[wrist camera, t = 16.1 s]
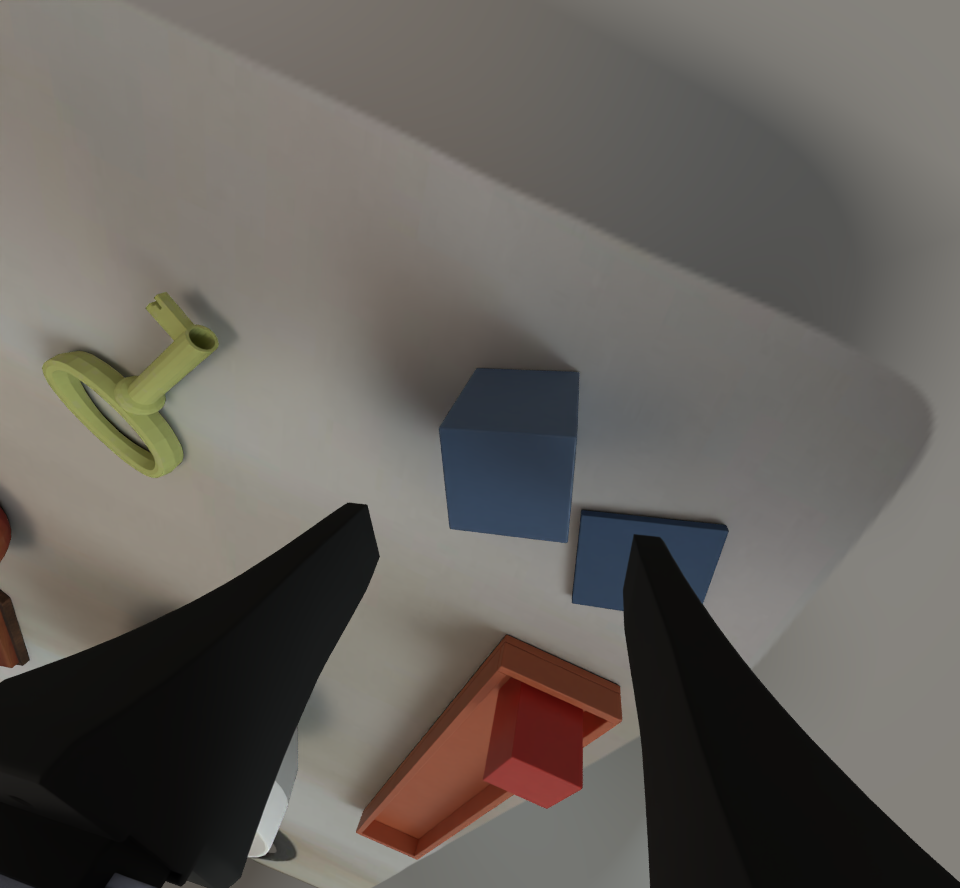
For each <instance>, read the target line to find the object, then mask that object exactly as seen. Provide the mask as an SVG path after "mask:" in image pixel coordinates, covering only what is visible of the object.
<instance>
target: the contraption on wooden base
mask: <svg viewBox="0 0 960 888" xmlns="http://www.w3.org/2000/svg"><path fill="white" fill-rule="evenodd" d="M28 661H29V657H28V653H27V650H26V647H25V644H24V641H23V638H22V634H21V631H20V628H19V625H18V622H17V619H16V616H15V612H14V609H13V606H12V603H11V600H10V598H9V597H8V596H7V595H6V594H4V593H3V592H2V591H0V666H4V667H9V668H13V667H14V666H15V665H22V666H23V665H24V664H26V663H27V662H28Z"/></svg>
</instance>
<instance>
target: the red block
mask: <svg viewBox="0 0 960 888" xmlns="http://www.w3.org/2000/svg"><path fill="white" fill-rule="evenodd" d="M582 773H583V709H581V708H579V707H577V706H574V705H572V704H570V703H568V702H565V701H563V700H561V699H559V698H557V697H554V696H552V695H550V694H548V693H546V692H543V691H541V690H539V689H537V688H535V687H532V686H530V685H528V684H526V683H524V682H521V681H519V680H517V679H515V678H513V677H511V678H510V679H509V680H508V681H507V682H506V683H505V684H504V685H503V686H502V687H501V689H500V690H499V691H498V697H497V702H496V708H495V714H494V720H493V725H492V731H491V737H490V742H489V748H488V754H487V759H486V765H485V771H484V776H483V780H484V781H485V782H488V783H490V784H492V785H494V786H497V787H499V788H501V789H503V790H506V791H508V792H510V793H512V794H515V795H517V796H519V797H521V798H524V799H526V800H528V801H530V802H532V803H535V804H537V805H539V806H541V807H544V808H546V809H547V808H549V807H551V806H553V805H555V804H556V803H558V802H560V801H562V800H563V799H565V798H567V797H569V796H570V795H572V794H574V793H576V792H578V791H579V790H581V789H582V786H583V784H582V783H583V774H582Z"/></svg>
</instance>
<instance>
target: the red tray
mask: <svg viewBox="0 0 960 888" xmlns="http://www.w3.org/2000/svg"><path fill="white" fill-rule="evenodd" d="M511 677H513V678H515V679H517V680H519V681H521V682H524V683H526V684H528V685H530V686H532V687H535V688H537V689H539V690H541V691H543V692H546V693H548V694H550V695H552V696H554V697H557V698H559V699H561V700H563V701H565V702H568V703H570V704H572V705H574V706H577V707H579V708H581V709H583V747H585V746H586V745H588V744H589V743H591V742H592V741H594V740H595V739H597V738H598V737H600V736H601V735H603V734H604V733H606V732H607V731H609V730H610V729H612V728H613V727H615V726H616V724H619V723H620V722H622V709H621V696H620V686H618V685H616V684H614V683H612V682H609V681H607V680H605V679H603V678H601V677H598V676H596V675H594V674H592V673H590V672H588V671H585V670H583V669H581V668H579V667H577V666H574V665H572V664H570V663H568V662H566V661H563V660H561V659H559V658H557V657H555V656H552V655H550V654H548V653H546V652H544V651H541V650H539V649H537V648H535V647H533V646H530V645H528V644H526V643H524V642H522V641H520V640H517V639H515V638H513V637H511V636H509V635H506V636H505V637H504V639H503V640H502V641H501V642H500V644H499V645H498V646H497V647H496V648H495V650H494V651H493V652H492V653H491V655H490V656H489V657H488V658H487V660H486V661H485V662H484V663H483V664H482V666H481V667H480V668H479V669H478V671H477V672H476V673H475V674H474V675H473V677H472V678H471V679H470V680H469V682H468V683H467V684H466V685H465V687H464V688H463V689H462V690H461V691H460V693H459V694H458V695H457V696H456V698H455V699H454V700H453V701H452V703H451V704H450V705H449V706H448V707H447V709H446V710H445V711H444V712H443V714H442V715H441V716H440V717H439V719H438V720H437V721H436V722H435V723H434V725H433V726H432V727H431V728H430V730H429V731H428V732H427V733H426V734H425V736H424V737H423V738H422V739H421V741H420V742H419V743H418V744H417V746H416V747H415V748H414V749H413V750H412V752H411V753H410V754H409V755H408V757H407V758H406V759H405V760H404V762H403V763H402V764H401V765H400V766H399V768H398V769H397V770H396V771H395V773H394V774H393V775H392V776H391V777H390V779H389V780H388V781H387V782H386V784H385V785H384V786H383V787H382V789H381V790H380V791H379V792H378V793H377V795H376V796H375V797H374V798H373V800H372V801H371V802H370V803H369V805H368V806H367V807H366V808H365V809H364V811H363V813H362V816H361V819H360V822H359V825H358V827H357V830H356V833H358V834H360V835H362V836H365V837H367V838H369V839H371V840H374V841H376V842H378V843H380V844H383V845H385V846H387V847H390V848H392V849H394V850H396V851H399V852H401V853H403V854H406V855H408V856H410V857H412V858H415V859H417V860H418V859H419V858H421V857H422V856H424V855H425V854H427V853H428V852H430V851H431V850H432V849H434V848H435V847H437V846H438V845H440V844H441V843H443V842H444V841H446V840H447V839H449V838H450V837H452V836H453V835H455V834H456V833H458V832H459V831H461V830H462V829H464V828H465V827H467V826H468V825H469V824H471V823H472V822H474V821H475V820H477V819H478V818H480V817H481V816H483V815H484V814H486V813H487V812H489V811H490V810H492V809H493V808H495V807H496V806H498V805H499V804H501V803H502V802H504V801H505V800H506V799H508V798H509V797H511V796H512V795H514V794H512V793H510V792H508V791H506V790H503V789H501V788H499V787H497V786H494V785H492V784H490V783H488V782H485V781H484V780H483V776H484V771H485V765H486V759H487V754H488V748H489V742H490V737H491V731H492V725H493V720H494V714H495V708H496V702H497V697H498V691H499V690H500V689H501V687H502V686H503V685H504V684H505V683H506V682H507V681H508V680H509V679H510V678H511Z"/></svg>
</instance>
